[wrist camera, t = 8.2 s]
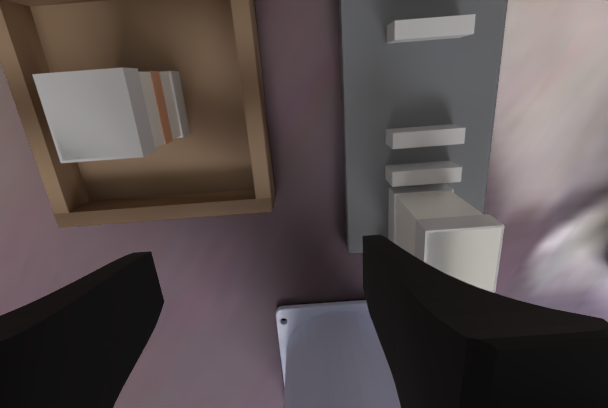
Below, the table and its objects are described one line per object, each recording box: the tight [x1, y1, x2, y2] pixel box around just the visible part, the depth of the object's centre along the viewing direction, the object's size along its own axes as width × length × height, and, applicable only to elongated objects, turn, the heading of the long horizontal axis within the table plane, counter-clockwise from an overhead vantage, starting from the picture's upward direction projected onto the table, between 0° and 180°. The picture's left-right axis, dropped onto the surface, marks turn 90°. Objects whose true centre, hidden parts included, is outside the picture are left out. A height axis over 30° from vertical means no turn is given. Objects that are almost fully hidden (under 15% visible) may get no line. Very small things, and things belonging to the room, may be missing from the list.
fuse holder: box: [338, 0, 508, 254], centre depth 17 cm, size 20×8×2 cm, turn 4°
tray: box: [0, 0, 276, 228], centre depth 18 cm, size 12×12×2 cm
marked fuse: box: [32, 67, 190, 163], centre depth 15 cm, size 3×3×6 cm
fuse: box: [388, 183, 505, 292], centre depth 17 cm, size 3×3×6 cm
